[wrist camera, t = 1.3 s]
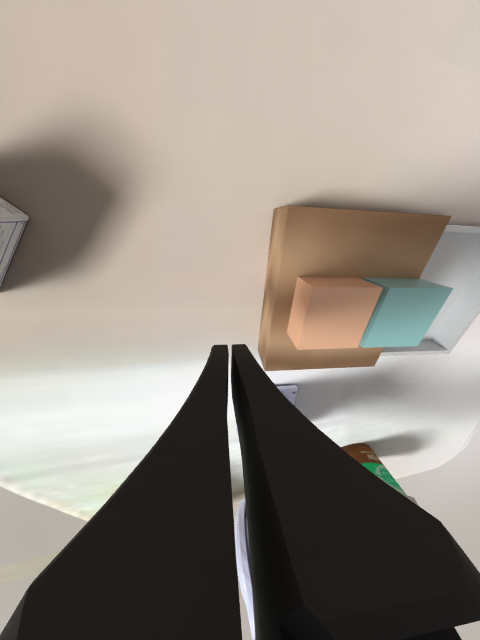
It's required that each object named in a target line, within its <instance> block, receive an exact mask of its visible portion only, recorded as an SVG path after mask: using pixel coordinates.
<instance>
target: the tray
mask: <svg viewBox="0 0 480 640" xmlns="http://www.w3.org/2000/svg"><path fill="white" fill-rule="evenodd" d="M419 279H422V280H426V281H429V282H433V283H436V284H440V285H443V286H447V287H450V288H454V289H453V290H452V292H451V293H450V295H449V297H448V298H447V300H446V301H445V303H444V305H443V306H442V308H441V309H440V311H439V313H438V314H437V316H436V317H435V319H434V321H433V322H432V324H431V326H430V327H429V329H428V330H427V332H426V334H425V335H424V337H423V338H422V340H421V342H420V343H419V345H418V346H404V347H384V348H383V350H382V352H381V354H380V356H397V355H424V354H449V353H450V352H451V351H452V349H453V348H454V347H455V345H456V344H457V342H458V341H459V340H460V338H461V337H462V336H463V334H464V333H465V332H466V330H467V329H468V328H469V326H470V325H471V324H472V322H473V321H474V319H475V318H476V317H477V315H478V314H479V313H480V226H462V225H447V226H446V228H445V230H444V232H443V234H442V236H441V238H440V239H439V241H438V243H437V245H436V247H435V249H434V251H433V253H432V255H431V257H430V259H429V261H428V263H427V265H426V267H425V269H424V271H423V272H422V274H421V276H420V278H419Z"/></svg>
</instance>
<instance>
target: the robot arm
mask: <svg viewBox="0 0 480 640" xmlns="http://www.w3.org/2000/svg"><path fill="white" fill-rule="evenodd" d="M228 358H229V353H228V346H227V345H214V346H213V347H212V349H211V353H210V356H209V358H208V361H207V363H206V365H205V367H204V369H203V371H202V373H201V375H200V377H199V379H198V381H197V383H196V385H195V386H194V388H193V390H192V391H191V393H190V395H189V397H188V398H187V400H186V401H185V403H184V405H183V406H182V408H181V409H180V411H179V412H178V414H177V415H176V416H175V418H174V419H173V421H172V422H171V424H170V425H169V426H168V428H167V429H166V430H165V432H164V433H163V434H162V436H161V437H160V438H159V440H158V441H157V442H156V444H155V445H154V446H153V447H152V449H151V450H150V451H149V452H148V454H147V455H146V456H145V457H144V459H143V460H142V461H141V462H140V463H139V464H138V466H137V467H136V468H135V469H134V470H133V472H132V473H131V474H130V475H129V476H128V477H127V479H126V480H125V481H124V482H123V483H122V484H121V486H120V487H119V488H118V489H117V490H116V492H115V493H114V494H113V495H112V496H111V497H110V498H109V500H108V501H107V502H106V503H105V504H104V505H103V506H102V507H101V509H100V510H99V511H98V512H97V513H96V514H95V515H94V516H93V517H92V518H91V519H90V520H89V522H88V523H87V524H86V525H85V526H84V527H83V528H82V529H81V530H80V531H79V533H77V535H76V536H75V537H74V538H73V539H72V540H71V541H70V542H69V543H68V544H67V545H66V546H65V547H64V549H63V550H62V551H61V552H60V553H59V554H58V555H57V556H56V557H55V558H54V559H53V560H52V562H51V563H50V564H49V565H48V566H47V567H46V568H45V569H44V570H43V571H42V572H41V573H40V574H39V575H38V577H37V578H36V579H35V580H34V581H33V582H32V584H31V585H30V586H29V588H28V589H27V591H26V593H25V594H24V596H23V598H22V600H21V601H20V603H19V605H18V606H17V608H16V610H15V611H14V613H13V615H12V616H11V618H10V620H9V621H8V623H7V625H6V626H5V628H4V630H3V631H2V633H1V635H0V640H242V631H241V617H240V603H239V589H238V577H239V582H240V587H241V591H242V595H243V598H244V601H245V603H246V608H247V613H248V618H249V623H250V629H251V635H252V640H461V638H460V636H459V635H458V633H457V631H456V629H455V628H454V627H455V626H459V625H464V624H468V623H471V622H476V621H480V573H479V572H478V571H477V569H476V567H475V566H474V565H473V563H472V562H471V561H470V560H469V558H468V557H467V555H466V554H465V553H464V551H463V550H462V549H461V548H460V546H459V545H458V543H457V542H456V541H455V540H454V538H453V537H452V536H451V534H450V533H449V532H448V531H447V530H446V528H445V527H444V526H443V525H442V523H441V522H440V521H439V520H438V519H436V518H435V517H433V516H432V515H430V514H429V513H428V512H426V511H425V510H423V509H422V508H420V507H419V506H418V505H416V504H415V503H414V502H412V501H411V500H409V499H408V498H407V497H405V496H404V495H402V494H401V493H400V492H398V491H397V490H395V489H394V488H393V487H391V486H390V485H388V484H387V483H385V482H384V481H383V480H381V479H380V478H379V477H377V476H376V475H375V474H373V473H372V472H371V471H369V470H368V469H367V468H366V467H364V466H363V465H362V464H360V463H359V462H358V461H356V460H355V459H354V458H353V457H351V456H350V455H349V454H348V453H346V452H345V451H344V450H343V449H342V448H341V447H339V446H338V445H337V444H336V443H335V442H333V441H332V440H331V439H330V438H329V437H327V436H326V435H325V434H324V433H323V432H322V431H320V430H319V429H318V428H317V427H316V426H315V425H314V424H313V423H312V422H310V421H309V420H308V419H307V418H306V417H305V416H304V415H303V414H302V413H301V412H300V411H299V410H298V409H297V408H296V407H295V406H294V403H295V399H296V395H297V392H298V387H297V386H296V385H291V386H276V385H275V384H274V383H273V382H272V381H271V379H270V378H269V377H268V376H267V374H266V373H265V372H264V371H263V369H262V368H261V367H260V365H259V364H258V363H257V361H256V360H255V358H254V357H253V355H252V354H251V352H250V351H249V349H248V347H247V346H246V345H245V344H236V345H232V360H231V385H232V399H233V405H234V411H235V417H236V423H237V429H236V431H237V433H238V436H239V442H240V448H241V456H242V465H243V477H244V489H245V498H243V499H241V501H240V504H239V507H238V509H237V512H236V517H235V533H234V519H233V504H232V489H231V474H230V459H229V443H228V426H227V403H228ZM237 570H238V576H237Z"/></svg>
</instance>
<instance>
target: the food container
mask: <svg viewBox="0 0 480 640" xmlns="http://www.w3.org/2000/svg"><path fill="white" fill-rule="evenodd" d="M341 448H342V449H343V450H344V451H345V452H346V453H348V454H349V455H350V456H351V457H353V458H354V459H355V460H356V461H358V462H359V463H360V464H362V465H363V466H364V467H366V468H367V469H368V470H369V471H371V472H372V473H373V474H375V475H376V476H377V477H379V478H380V479H381V480H383V481H384V482H385V483H387V484H388V485H390V486H391V487H393V488H394V489H395V490H397V491H398V492H400V493H401V494H402V495H404V496H405V497H407V498H408V499H409V500H411V501H412V502H414V503H415V504H416V505H418V504H417V502H416V500H415V499H414V498H413V497H410V496H407V495H406V494H405V493H404V491H403V490H402V488H401V487H400V486H399V484H398V483H397V482H396V481H395V479H394V478H393V477H392V475H391V474H390V473H389V471H388V470H387V469H386V467H385V466H384V465H383V464H382V462H381V461H380V460H379V458H378V457H377V456H376V454H375V453H374V452H373V450H372V449H371V448H370V447H369V446H368V445H366V444H362V443H357V444H351V445H347V446H344V447H341Z"/></svg>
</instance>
